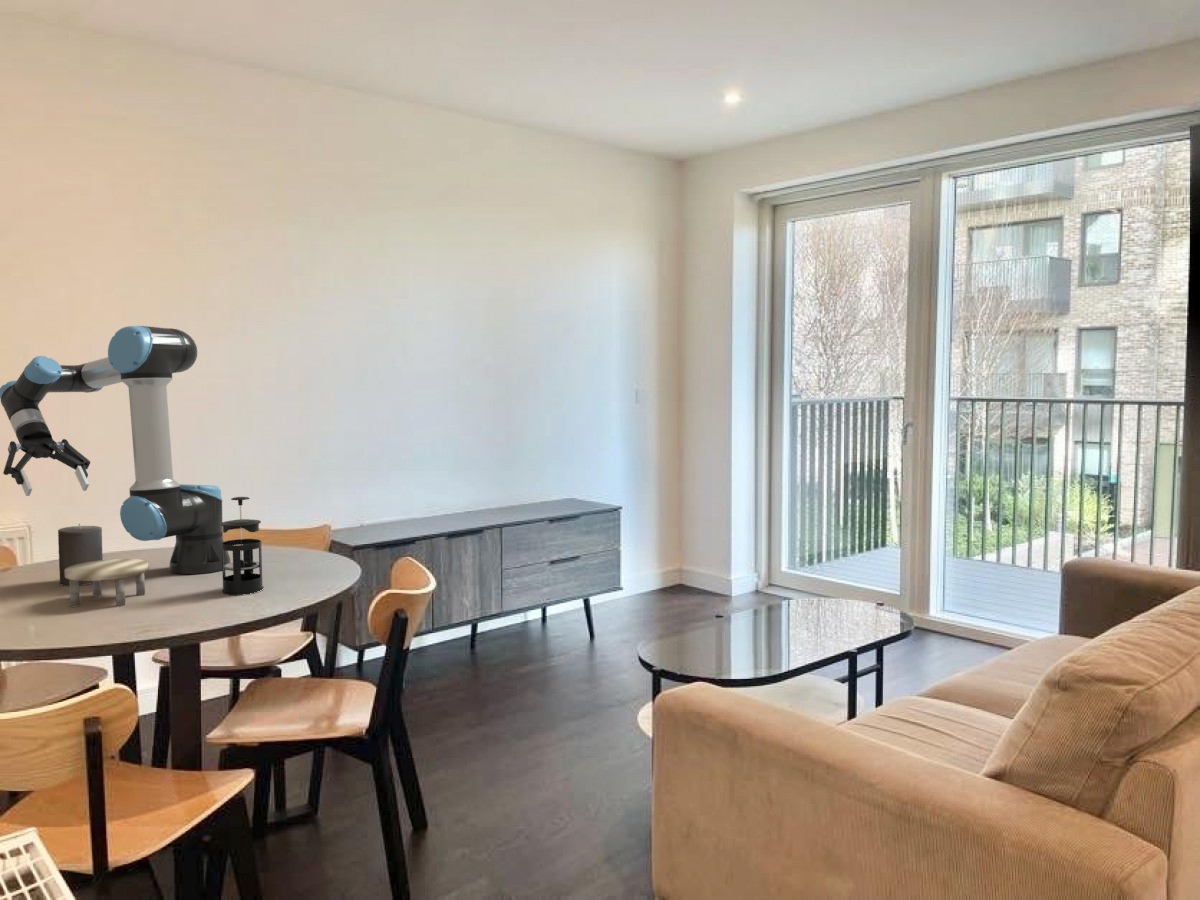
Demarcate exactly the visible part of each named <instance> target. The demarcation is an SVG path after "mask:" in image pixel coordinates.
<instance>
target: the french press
mask: <svg viewBox="0 0 1200 900" xmlns="http://www.w3.org/2000/svg"><path fill="white" fill-rule="evenodd" d="M249 499H251V498H250V497H249V496H234V497H232V498H231V499H230V500H231V501H238V502H237V503H238V506H239V519H233V520H232V519H231V520H228V521H227V520H226V521H222V523H221V525H222V526H223V533H224V534H225V533H227V532H228V531H230V530H238V529H239V530H240V531H239V533H240V538H239V539H230V540H225V541H224V542H222V570H221V571H222V590H221V593H222V594H223V595H226V594H228V596H244V595H243V594H247V595H251V594H250V593H253V594H255V593H254V592H257V591H260V590H262V589H263V588H264V586H263V558H262V556H263V555H262V552H263V551H262V539H261V540H260V539H256V538H243V529H244V530H245V531H248V532H249V533H256V532H259V531H260V524H261V522H262V521H261V520H258V519H249V518H243V519H242V506H243V501H246V500H249ZM257 549H258V561H254V551H253V550H257ZM225 550H226V551H229V552H232V562H231V563H229V564H226V565H225ZM258 568H259V573H256V572H255V573H254V569H258ZM226 571H231V572H232V573H233V574H231V575H227V576H226ZM242 571H243V573H242ZM263 590H264V589H263ZM263 590H262V591H263ZM260 592H261V591H260ZM257 593H258V592H257Z"/></svg>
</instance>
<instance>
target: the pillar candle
mask: <svg viewBox="0 0 1200 900" xmlns="http://www.w3.org/2000/svg"><path fill="white" fill-rule="evenodd" d="M80 524H81V523H78V525H76V526H75V525H74V526H67V527H62V528H59V529H58V530H57V532H58V533H57V534H58V535H57V536H58V538H57V539H58V540H57V541H58V544H57V545H58V565H59V582H58V583H59V585H61V584H63V585H62V586H67V585H70V584H69V579H66V578H65V569H66V568H67V567H70V566H73V565H76V564H81V563H86V562H92V561H99V560H104V558H103V554H104V553H103V527H101V526H98V525H80ZM89 583H92V581H79V586H83V585H82V584H87V585H90V584H89Z"/></svg>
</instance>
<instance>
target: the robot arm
mask: <svg viewBox="0 0 1200 900" xmlns="http://www.w3.org/2000/svg"><path fill="white" fill-rule="evenodd" d="M107 348H108V349H107V357H104V358H99V359H96V360H93V361H88V362H86V363H81V364H78V365H77V364H75V365H72V364H71V365H70V364H69V365H67V364H66V365H65V364H63V365H62V364H60V363H59V362H58V361H56V360H55V359H53V358H51V357H47V356H45V355H37V356H34V357H33V358H32V360H31V361H30V362H29V363H28V364H27V365H26V366H25V367H24V369H23V371H22V372H21V374H20V375H19V377H18V378H17V380H11V381H10V380H9V381H8V382H6V383H5V384H2V386H0V403H1V406H2V407H3V409H4V412H5V413H6V416H7V418H8V420H9V422H10V425H11V427H12V429H13V431H14V434H15V436H16V439H17V441H18V443H17V442H15V441H14V440H11V441H10V442H9V445H8V447H7V451H8V457H7V460H6V463H5V466H4V469H3V472H2V473H3V475H6V476H8V475H11V478H12V479H14V480H15V482H16V484H17V485H18V486H19V485H20V486H21V487H22V489H23V492H24V494H25V496H26V497H29V496H30V495H31V493H32V491H33V487H32V485H31V482H30V481H29V478H28V476H27V474H26V471H25V469H23V468H24V467H26V465H27V464H28V462H30V460H31V459H32V458H35V459H41V458H43V459H48V458H50V459H52V460H53V461H54V460H57V461H58V462H60V463H62V464H64V465H66V466H68V467H70V468H71V469H73V470H75V472H74V474H75V476H76V478H77V480H78V483H79V485H80V487H81V490H82V491H84V492H86V491H87V490H88V488H89V486H90V483H89V481H88V476H89V474H88V472H87V470H88V469H89V466H90V464H91V460H90V459H88V458H87V457H86V456H85V455H83V454H82V453H81V452H79V451H78V450H77V449H76V448H75V447H74V446H72V445H70V443H69V441H68V440H67V439H65V438H63V439H62V440H61V441H55V440H54V439H53V436H52V434H51V431H50V429H49V427H48V424H47V422H46V419H45V418H44V416H43V414H42V411H41V410H40V407H39V404H40V403H41V402H42V401H43V399H44V398H45V397H46V396H47V394H48V393H94V392H95V393H96V392H99V391H101V390H102V389H103V388H104V387H107V386H113V385H115V384H116V385H117V384H120V383H123V384H125V385H126V386H127V388H128V397H129V399H128V400H129V411H130V425H131V437H132V452H133V462H134V463H133V464H134V478H135V481H134V483H132V484H131V486H130V487H129V497H127V498H126V499H125V500H124V501H123V503H122V505H121V507H120V510H119V511H120V512H119V516H120V521H121V524H122V526H123V528H124V529H125V531H126V532H127V533H128V534H129V535H130V536H131V537H132V538H134V539H136V540H138V541H142V542H147V541H160V540H162V539H165V538H170V537H171V538H172V537H174V536H175V544H174V547H173V550H172V553H171V556H170V557H171V558H170V560H169V572H171V573H172V574H173V573H174V574H181V575H185V574H186V575H195V574H209V573H215V572H219V571H222V542H225V541H224V535H223V526H222V525H221V523H222V522H223V498H222V490H221V489H220V487H219V486H217V485H210V484H209V485H208V484H188V483H187V484H185V483H183V484H182V483H181V484H180V483H179V482H177V481H176V480H175V479H174V472H173V462H172V461H173V459H172V458H173V457H172V447H171V446H172V445H171V434H170V433H171V431H170V420H169V418H170V417H169V405H168V403H169V402H168V391H167V386H168V385H169V383H171V382H172V380H173V374H176V373H182V372H185V371H187V370H189V369H191V368H192V367H193V366H194V364H195V363H196V361H197V358H198V346H197V344H196V342H195V340H194V339H193V337H192V336H190V335H189V334H188V333H187V332H185V331H184V330H182V329H181V330H180V329H177V328H167V327H157V326H148V325H147V326H146V325H127V326H124V327H122V328H120V329H118V330H117V331H116V332H115V333H114V335H113V336H112V337H111V338H110V340H109V344H108V347H107ZM19 450H21V451H22V452H23V453H24V455H23V456H22V457H21V459H20V460H19V461H18V463H16V465H15V466H14V467H13V466H12V465H13V463H14V460H15V457H16V453H17V452H19ZM229 563H232V561H231V556H230V554H229V552H228V551H226V550H225V565H226V564H229Z"/></svg>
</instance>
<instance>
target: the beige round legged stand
mask: <svg viewBox="0 0 1200 900" xmlns="http://www.w3.org/2000/svg"><path fill="white" fill-rule="evenodd" d="M149 569H150V567H149V561H147V560H145V559H141V558H140V559H139V558H114V559H113V558H112V559H111V558H110V559H103V560H99V561H92V562H86V563H81V564H76V565H73V566H70V567H67V568H66V569H65V578H66V579H69V584H70V586H69V600H70V601H69V602H70V607H71V606H77V607H79V606H78V605H81V602H80V585H79V581H92V583H93V584H92V596H93V595H100V596H102V595H101V594H103V592H102V581H109V580H114V582H115V584H114V585H115V606H116V607H123V605H124V606H125V605H126V593H125V592H126V591H125V587H126V586H125V578H129V577H130V578H131V577H134V576H135V586H136V587H135V589H136V590H135V591H136V596H144V594H145V595H146V586H145V584H146V582H145V573H146V572H148V571H149ZM101 580H102V581H101Z"/></svg>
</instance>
